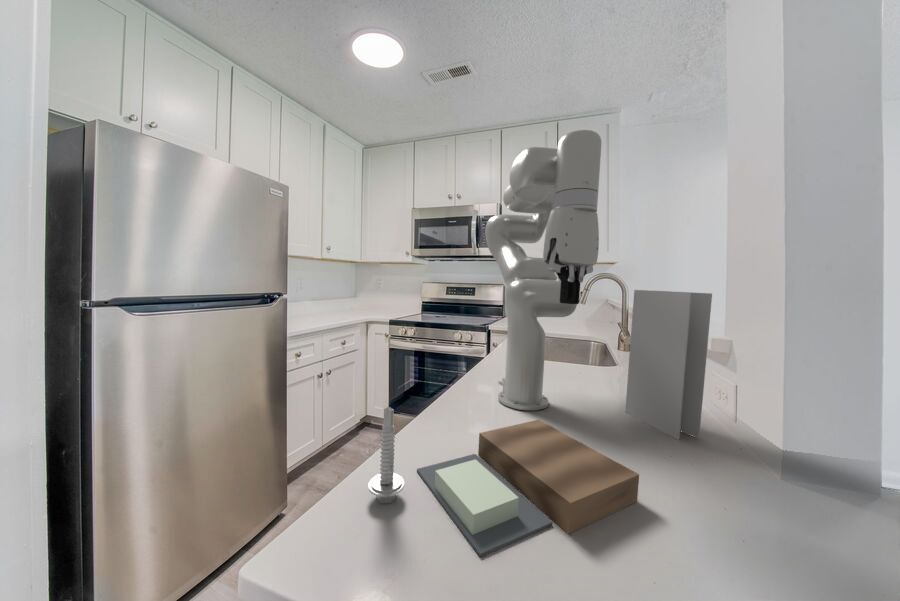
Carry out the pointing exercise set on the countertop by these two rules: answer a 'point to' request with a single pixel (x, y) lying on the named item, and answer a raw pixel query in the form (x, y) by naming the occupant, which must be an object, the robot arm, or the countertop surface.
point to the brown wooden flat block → (559, 473)
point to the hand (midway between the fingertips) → (569, 303)
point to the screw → (387, 464)
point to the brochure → (668, 359)
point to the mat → (499, 534)
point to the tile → (476, 495)
